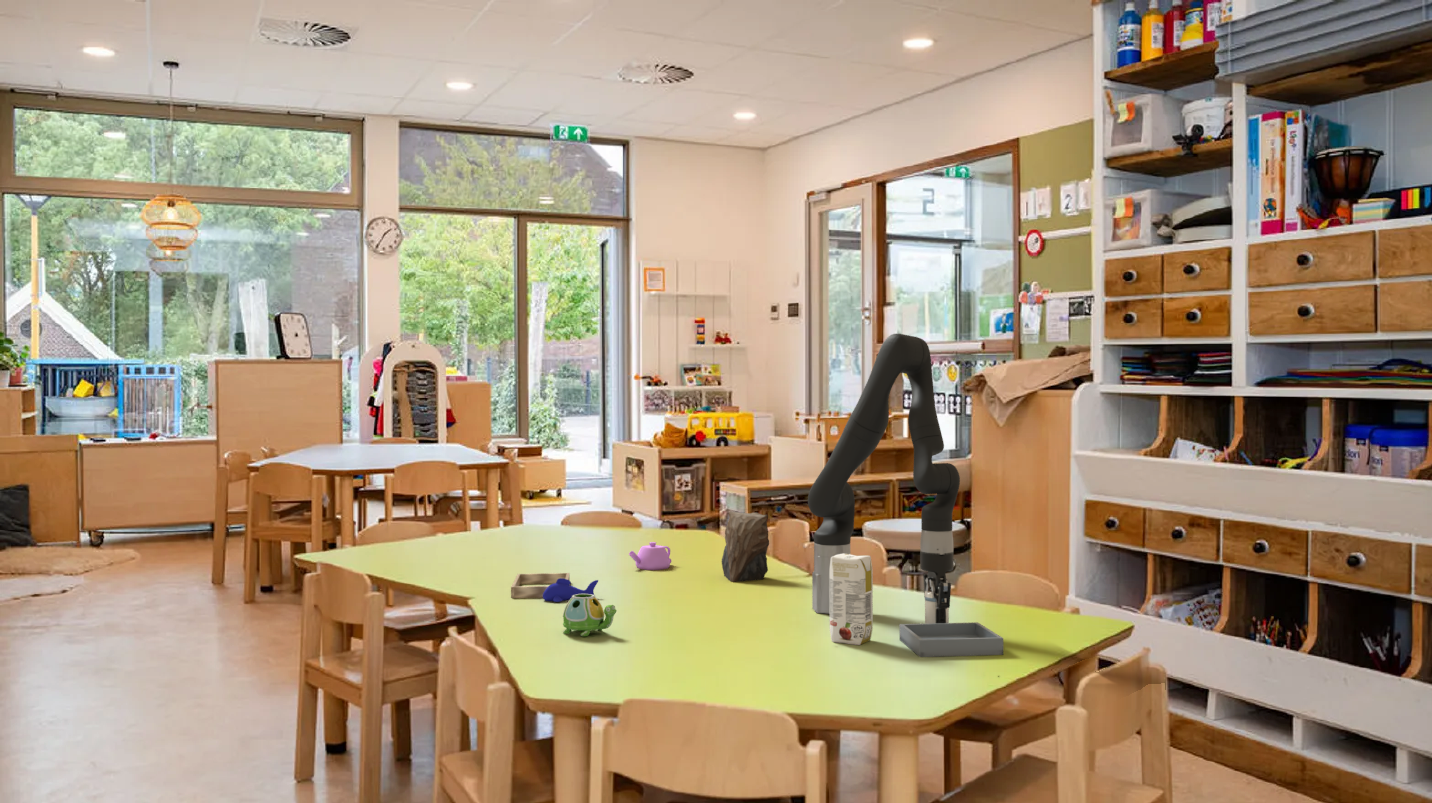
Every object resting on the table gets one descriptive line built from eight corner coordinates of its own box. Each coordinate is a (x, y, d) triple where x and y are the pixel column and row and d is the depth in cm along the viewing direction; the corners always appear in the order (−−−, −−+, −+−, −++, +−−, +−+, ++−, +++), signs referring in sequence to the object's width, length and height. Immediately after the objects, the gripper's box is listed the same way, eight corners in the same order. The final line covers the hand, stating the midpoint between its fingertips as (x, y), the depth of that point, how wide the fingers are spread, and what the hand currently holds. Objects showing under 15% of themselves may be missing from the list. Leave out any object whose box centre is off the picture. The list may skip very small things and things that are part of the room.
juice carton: (861, 646, 239) (861, 559, 238) (826, 642, 243) (825, 556, 243) (875, 640, 245) (875, 555, 245) (840, 635, 250) (840, 552, 249)
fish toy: (545, 608, 283) (545, 581, 283) (539, 603, 290) (539, 577, 290) (602, 604, 288) (602, 578, 288) (594, 599, 295) (594, 573, 295)
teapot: (679, 572, 338) (679, 542, 338) (637, 577, 330) (637, 546, 330) (662, 568, 347) (662, 538, 347) (620, 572, 338) (620, 542, 338)
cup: (928, 633, 251) (928, 594, 251) (921, 628, 257) (921, 589, 257) (952, 633, 252) (952, 593, 252) (944, 628, 257) (944, 589, 257)
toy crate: (511, 602, 290) (511, 587, 290) (517, 588, 312) (517, 573, 312) (566, 601, 292) (566, 586, 292) (569, 587, 313) (569, 573, 313)
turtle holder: (606, 639, 247) (606, 601, 247) (555, 634, 252) (555, 597, 252) (623, 631, 255) (623, 594, 255) (574, 626, 260) (574, 590, 260)
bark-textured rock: (720, 578, 328) (720, 511, 328) (761, 576, 330) (761, 510, 330) (730, 585, 315) (730, 515, 315) (772, 583, 318) (772, 514, 318)
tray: (919, 657, 229) (919, 640, 229) (899, 639, 245) (899, 624, 245) (1003, 654, 231) (1003, 638, 231) (977, 637, 247) (977, 622, 247)
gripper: (912, 545, 261) (912, 616, 261) (930, 554, 247) (930, 629, 247) (943, 545, 262) (943, 616, 262) (962, 553, 247) (962, 629, 247)
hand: (936, 622), depth 254 cm, fingers closed on cup, 5 cm apart
